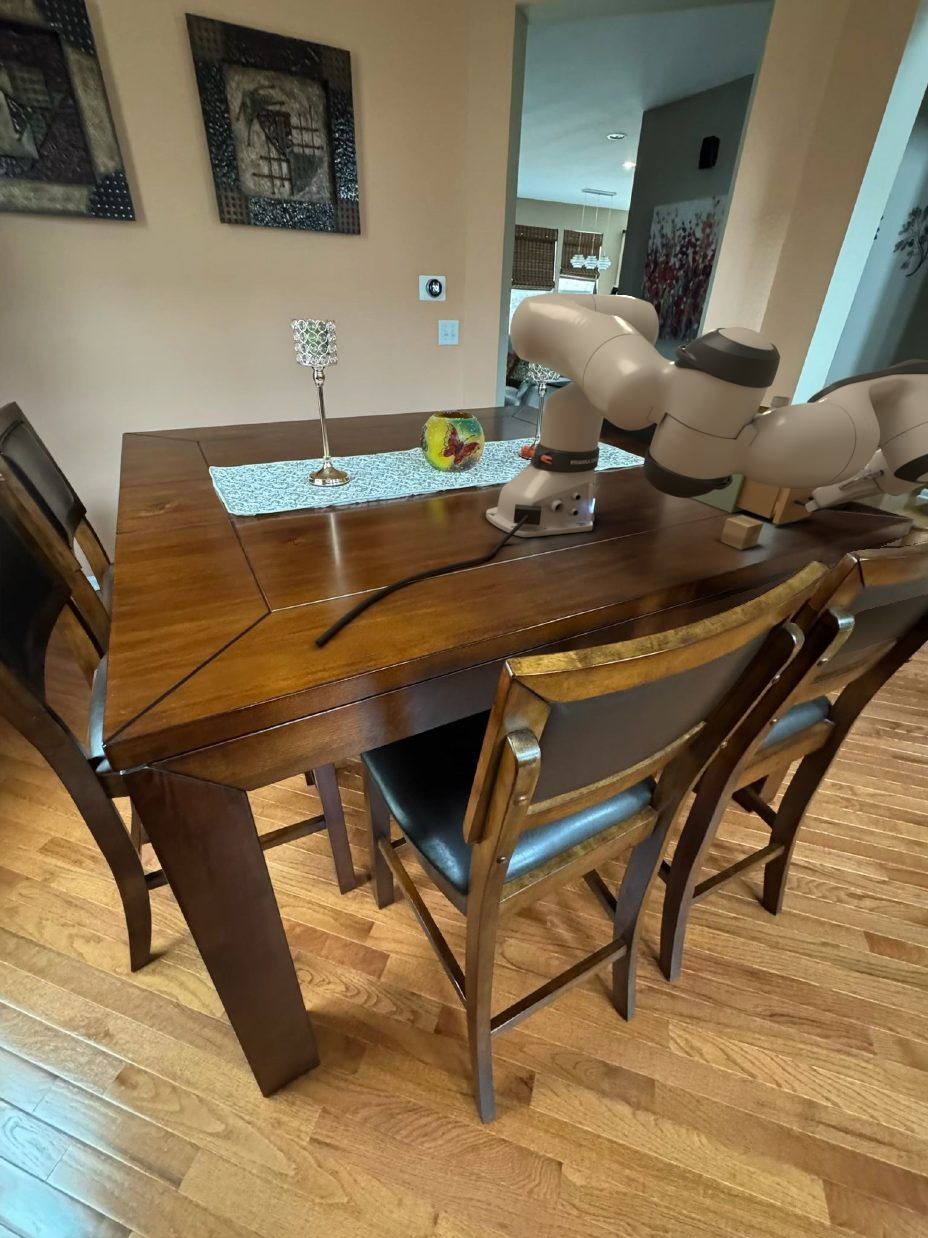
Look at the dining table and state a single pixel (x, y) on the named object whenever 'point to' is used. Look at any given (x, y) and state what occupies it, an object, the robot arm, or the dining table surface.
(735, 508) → the cabinet
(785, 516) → the drawer
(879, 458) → the robot arm
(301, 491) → the dining table surface
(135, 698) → the dining table surface
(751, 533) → the block
